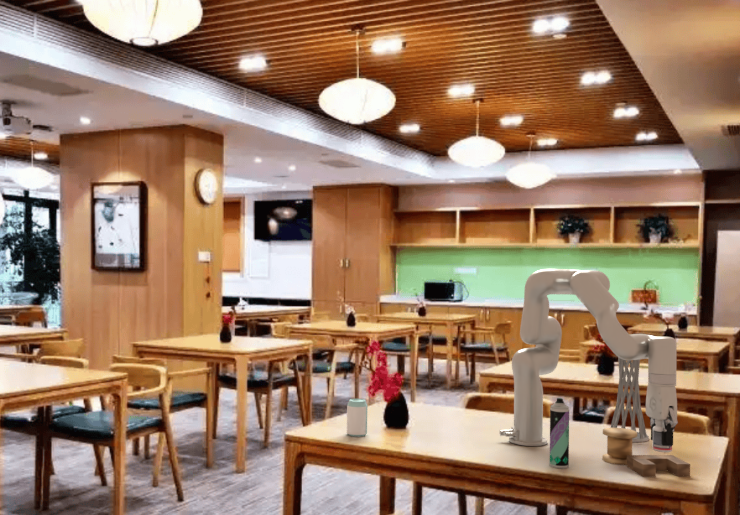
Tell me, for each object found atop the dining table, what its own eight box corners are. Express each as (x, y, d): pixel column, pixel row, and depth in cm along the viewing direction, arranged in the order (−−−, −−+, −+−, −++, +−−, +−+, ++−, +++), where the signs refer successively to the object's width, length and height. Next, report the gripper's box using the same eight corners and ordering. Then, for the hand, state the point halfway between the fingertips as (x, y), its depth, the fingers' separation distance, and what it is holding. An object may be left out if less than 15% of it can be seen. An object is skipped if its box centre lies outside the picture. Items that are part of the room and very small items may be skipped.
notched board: (643, 476, 200) (643, 464, 200) (626, 467, 210) (626, 455, 210) (690, 476, 201) (690, 464, 201) (671, 466, 211) (671, 454, 211)
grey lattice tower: (629, 443, 239) (630, 339, 240) (599, 435, 251) (600, 336, 252) (657, 439, 246) (658, 338, 247) (626, 431, 258) (628, 335, 258)
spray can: (546, 463, 212) (547, 396, 213) (564, 463, 213) (565, 396, 213) (553, 468, 207) (554, 399, 207) (571, 468, 207) (572, 399, 208)
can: (343, 435, 243) (344, 400, 244) (351, 431, 250) (352, 397, 250) (362, 437, 241) (362, 402, 241) (370, 433, 247) (370, 399, 248)
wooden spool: (610, 465, 212) (611, 435, 212) (597, 456, 221) (597, 427, 222) (642, 465, 212) (643, 435, 213) (627, 456, 222) (628, 427, 223)
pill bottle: (673, 453, 201) (674, 421, 201) (654, 452, 202) (654, 420, 202) (669, 448, 206) (670, 418, 206) (650, 447, 207) (651, 417, 207)
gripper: (635, 375, 212) (635, 436, 212) (664, 384, 195) (664, 450, 195) (659, 375, 213) (659, 435, 213) (690, 384, 196) (690, 450, 196)
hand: (661, 442), depth 204 cm, fingers closed on pill bottle, 5 cm apart
